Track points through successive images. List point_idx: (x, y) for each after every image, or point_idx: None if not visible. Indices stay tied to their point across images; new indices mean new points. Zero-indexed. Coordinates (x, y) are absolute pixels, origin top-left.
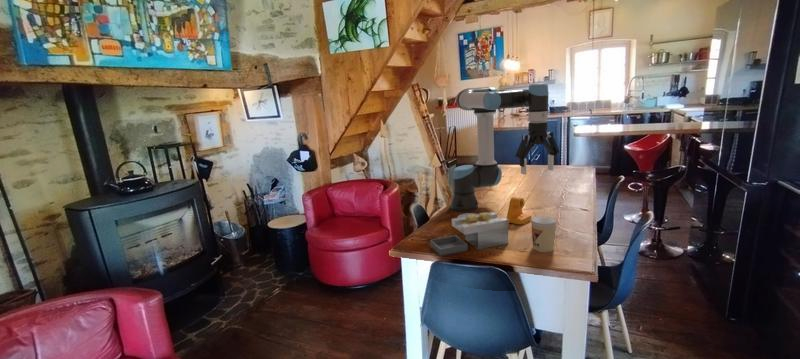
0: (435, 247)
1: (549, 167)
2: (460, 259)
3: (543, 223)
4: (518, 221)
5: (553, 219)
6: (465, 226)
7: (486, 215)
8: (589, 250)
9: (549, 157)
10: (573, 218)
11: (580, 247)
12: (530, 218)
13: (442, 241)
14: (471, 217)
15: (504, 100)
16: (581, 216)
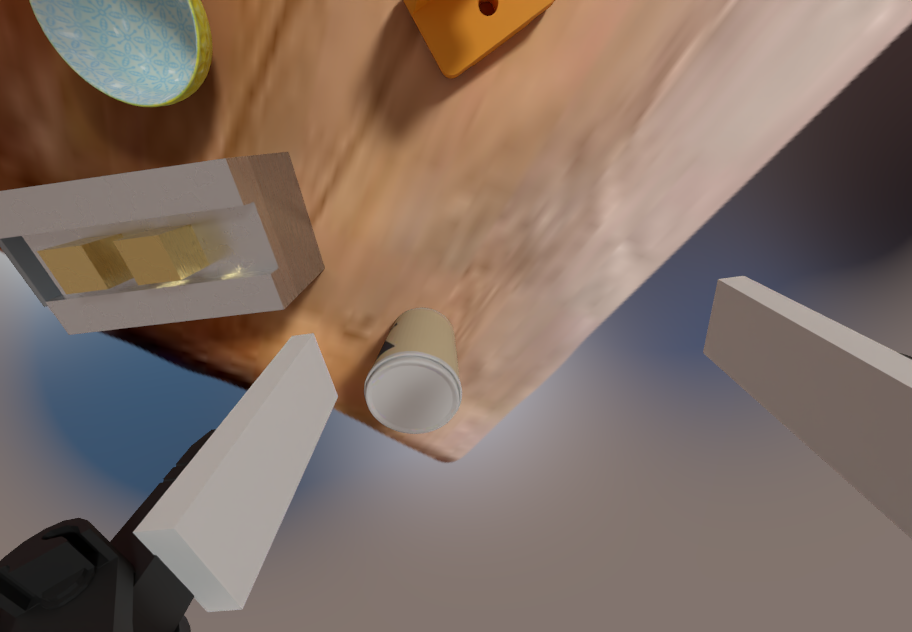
0: (24, 260)
1: (733, 329)
2: (145, 332)
3: (392, 428)
4: (442, 70)
5: (453, 404)
6: (73, 325)
7: (160, 282)
8: (539, 382)
9: (904, 440)
10: (766, 68)
11: (531, 359)
12: (544, 10)
13: None
14: (75, 291)
15: None
16: (830, 50)
